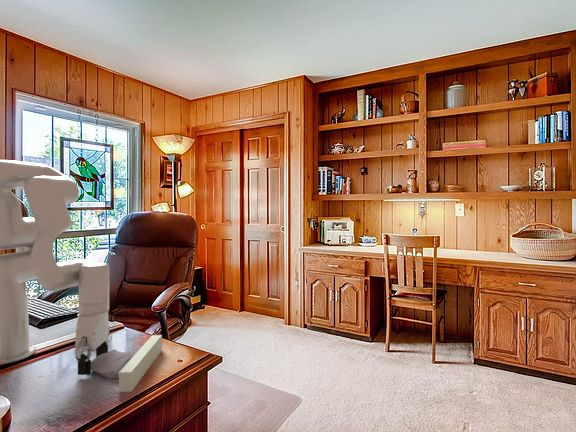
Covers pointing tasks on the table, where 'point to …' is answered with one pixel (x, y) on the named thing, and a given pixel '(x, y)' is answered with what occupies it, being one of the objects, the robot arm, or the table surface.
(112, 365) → the grey rock
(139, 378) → the board
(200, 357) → the table surface
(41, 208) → the robot arm
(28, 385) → the table surface
